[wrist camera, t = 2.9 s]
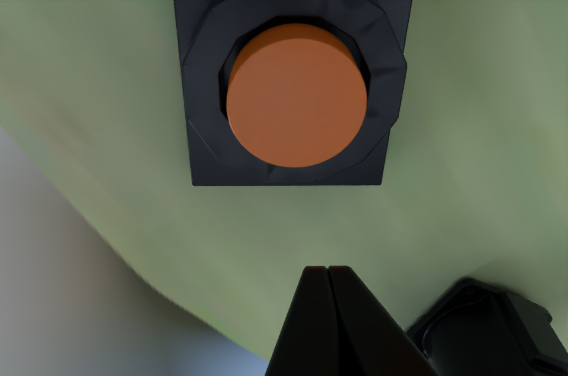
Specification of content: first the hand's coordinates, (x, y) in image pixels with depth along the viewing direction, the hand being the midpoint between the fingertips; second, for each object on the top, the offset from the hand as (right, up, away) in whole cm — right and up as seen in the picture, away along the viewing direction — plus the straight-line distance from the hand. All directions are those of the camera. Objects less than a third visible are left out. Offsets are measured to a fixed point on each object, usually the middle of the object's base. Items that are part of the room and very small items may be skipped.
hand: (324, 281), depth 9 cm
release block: (-1, +7, +9) cm, 12 cm away
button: (0, +5, +7) cm, 9 cm away
